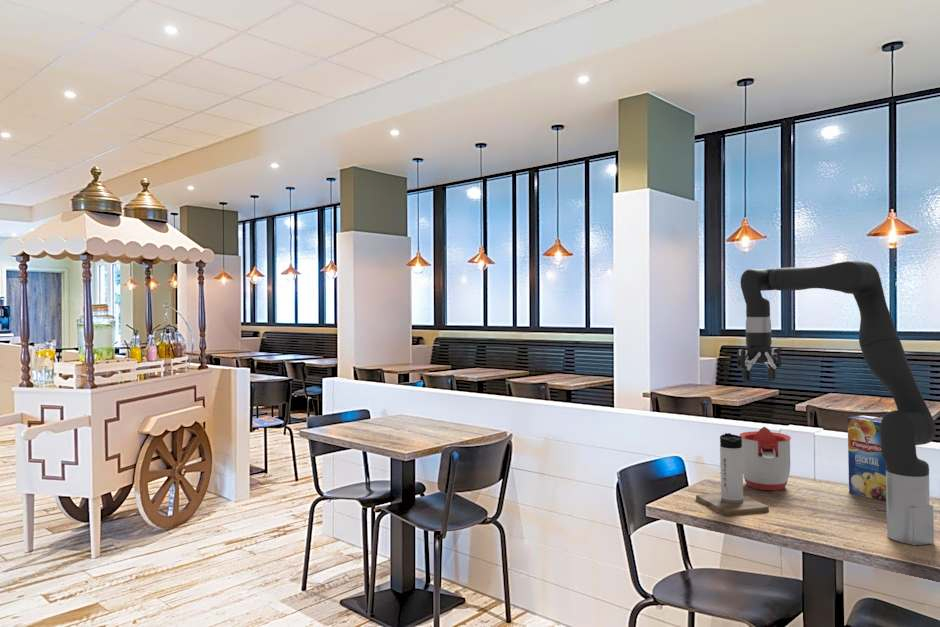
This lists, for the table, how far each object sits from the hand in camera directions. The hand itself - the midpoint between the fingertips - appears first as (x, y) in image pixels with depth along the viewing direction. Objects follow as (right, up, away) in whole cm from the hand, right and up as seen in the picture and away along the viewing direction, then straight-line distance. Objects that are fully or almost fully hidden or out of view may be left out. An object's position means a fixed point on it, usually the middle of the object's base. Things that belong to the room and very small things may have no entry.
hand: (759, 381), depth 207 cm
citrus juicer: (+5, -36, +6) cm, 37 cm away
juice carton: (+34, -36, -5) cm, 49 cm away
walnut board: (-14, -37, -11) cm, 41 cm away
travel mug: (-14, -35, -12) cm, 40 cm away
